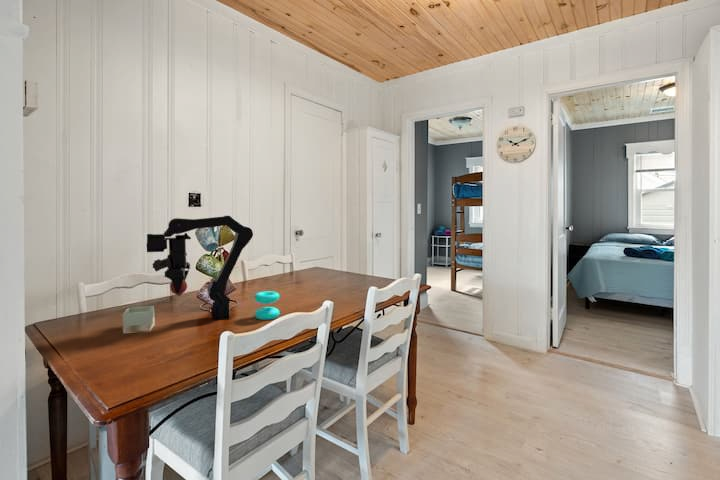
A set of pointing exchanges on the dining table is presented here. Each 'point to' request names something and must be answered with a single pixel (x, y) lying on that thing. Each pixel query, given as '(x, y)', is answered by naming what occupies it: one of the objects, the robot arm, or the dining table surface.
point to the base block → (139, 328)
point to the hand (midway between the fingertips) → (178, 291)
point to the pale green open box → (138, 316)
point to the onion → (182, 290)
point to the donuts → (267, 312)
